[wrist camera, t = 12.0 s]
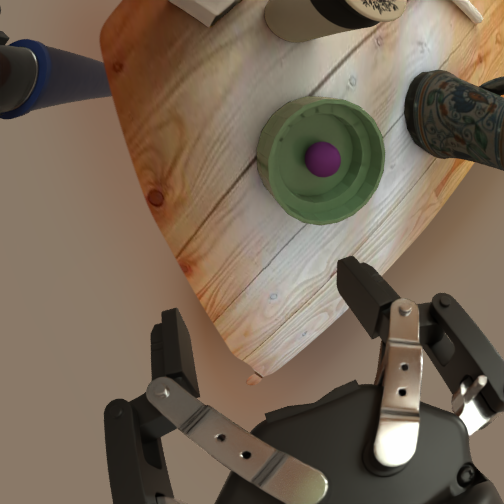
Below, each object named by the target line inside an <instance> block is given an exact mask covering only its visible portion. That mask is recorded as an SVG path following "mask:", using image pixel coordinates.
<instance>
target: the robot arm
mask: <svg viewBox="0 0 504 504" xmlns="http://www.w3.org/2000/svg"><path fill="white" fill-rule="evenodd" d="M0 13H1V7H0ZM8 40H9V37H8V36H7V35H6V34H5V33H4V32H2V31H0V113H1V112H5V111H11V110H14V109H17V108H18V107H20V106H21V105H22V104H24V103H25V102H26V101H27V99H28V98H29V97H30V95H31V94H32V92H33V90H34V88H35V86H36V83H37V80H38V75H39V63H38V59H37V57H36V55H35V53H34V52H33V51H32V50H30V49H28V48H25V47H13V46H6V45H5V44H6V43H7V41H8ZM0 115H3V114H0ZM337 288H338V291H339V293H340V295H341V296H342V298H343V299H344V300H345V302H346V303H347V305H348V306H349V307H350V308H351V310H352V311H353V313H354V314H355V316H356V317H357V319H358V320H359V321H360V323H361V324H362V326H363V327H364V329H365V330H366V331H367V333H368V334H369V336H370V337H371V338H372V339H374V338H376V337H378V336H380V338H381V339H382V341H381V346H380V354H379V361H378V368H377V373H376V378H375V381H374V385H373V384H361V385H358V383H357V381H356V380H354V381H352V382H349V383H347V384H345V385H342V386H340V387H338V388H335V389H334V390H332V391H331V392H329V393H328V394H327V395H325V396H324V397H322V398H321V399H320V400H318V401H317V402H315V403H311V404H304V405H294V406H287V407H284V408H281V409H278V410H275V411H272V412H268V413H265V416H266V420H264V421H262V422H261V423H259V424H258V425H257V426H256V427H255V428H254V429H253V430H252V431H251V432H250V433H249V432H248V431H246V430H244V429H243V428H241V427H240V426H238V425H237V424H235V423H234V422H232V421H231V420H230V419H228V418H226V417H225V416H224V415H222V414H221V413H219V412H218V411H217V410H215V409H214V408H212V407H211V406H209V405H204V404H203V403H202V402H200V401H199V400H198V399H196V398H198V397H200V394H199V388H198V382H197V377H196V371H195V364H194V358H193V352H192V346H191V339H190V335H189V332H188V329H187V327H186V325H185V323H184V321H183V319H182V316H181V314H180V312H179V310H178V308H173V309H170V310H166V311H163V312H162V323H160V324H156V325H154V328H153V330H152V332H151V370H152V382H151V383H150V384H149V385H148V387H147V390H146V392H145V393H144V394H143V395H141V396H139V397H138V398H136V399H134V400H132V401H130V402H127V401H126V400H124V399H115V400H113V401H111V402H110V403H109V404H108V405H107V406H106V408H105V411H104V427H105V443H106V454H107V464H108V472H109V479H110V487H111V492H112V499H113V504H187V503H185V502H184V501H181V500H177V499H174V495H173V491H172V488H171V483H170V480H169V475H168V471H167V466H166V462H165V457H164V452H163V447H162V443H161V436H163V435H165V434H167V433H169V432H171V431H173V430H175V429H177V428H178V429H179V430H180V431H181V432H182V433H184V434H185V435H186V436H187V437H188V438H189V439H191V440H192V441H193V442H194V443H196V444H197V445H198V446H199V447H201V448H202V449H203V450H204V451H206V452H207V453H208V454H209V455H211V456H212V457H213V458H215V459H216V460H217V461H219V462H220V463H221V464H223V465H224V466H225V467H227V468H228V469H230V470H231V472H230V474H229V476H228V478H227V480H226V482H225V484H224V486H223V488H222V490H221V492H220V494H219V496H218V498H217V500H216V502H215V504H504V503H503V502H502V499H501V498H500V496H499V493H498V492H497V490H496V488H495V486H494V485H493V483H492V482H491V481H490V480H489V479H488V478H487V477H485V476H484V475H483V474H482V473H481V472H480V471H479V470H478V469H477V468H476V467H475V466H474V464H473V462H472V459H471V455H470V448H469V436H470V435H472V434H473V433H474V432H476V431H477V430H480V429H483V428H485V427H486V426H488V425H489V424H490V423H491V422H492V421H494V420H495V419H496V418H497V417H499V416H500V415H501V414H502V413H503V412H504V361H503V359H502V358H501V356H500V355H499V354H498V352H497V351H496V349H495V348H494V347H493V345H492V344H491V343H490V341H489V340H488V339H487V337H486V336H485V335H484V334H483V332H482V331H481V330H480V329H479V327H478V326H477V325H476V324H475V323H474V321H473V320H472V319H471V318H470V316H469V315H468V314H467V313H466V312H465V310H464V309H463V308H462V307H461V306H460V305H459V303H458V302H457V301H456V300H455V299H454V298H453V297H452V296H451V295H449V294H446V293H438V294H436V295H435V296H434V297H433V299H432V302H430V303H423V304H416V303H415V302H413V301H412V300H410V299H406V298H400V296H399V295H398V294H397V293H396V292H395V291H394V290H393V289H392V287H391V286H390V285H389V284H388V283H387V282H386V281H385V280H383V278H382V276H381V275H379V273H378V272H377V271H376V270H375V269H374V268H373V267H372V266H370V265H368V264H366V263H364V262H363V263H359V262H358V260H357V259H356V258H355V257H354V256H349V257H346V258H343V259H340V260H338V262H337ZM445 333H446V334H445ZM448 337H449V338H448ZM450 340H451V341H452V342H451V341H450ZM453 344H454V345H453ZM423 349H424V350H425V352H426V353H427V355H428V356H429V358H430V359H431V361H432V362H433V364H434V366H435V367H436V369H437V370H438V372H439V373H440V375H441V376H442V378H443V379H444V381H445V383H446V384H447V386H448V387H449V389H450V391H451V392H452V394H453V396H452V401H451V402H452V411H453V412H454V413H451V412H448V411H445V410H442V409H440V408H437V407H434V406H431V405H429V404H426V403H423V402H420V394H421V382H422V362H423V360H422V359H423Z"/></svg>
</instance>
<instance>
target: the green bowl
mask: <svg viewBox="0 0 504 504" xmlns="http://www.w3.org/2000/svg"><path fill="white" fill-rule="evenodd" d="M316 142H328V143H330V144H332V145H334V146H335V147H336V148H337V150H338V151H339V153H340V156H341V164H340V167H339V169H338V171H337V172H336V173H335V174H333V175H332V176H329V177H317V176H315V175H313V174H312V173H311V172H310V171H309V170H308V169H307V167H306V164H305V153H306V151H307V149H308V148H309V147H310V146H311V145H312V144H314V143H316ZM384 162H385V148H384V143H383V137H382V134H381V132H380V130H379V128H378V127H377V125H376V123H375V121H374V119H373V118H372V117H371V116H370V115H369V114H368V113H366V112H365V111H364V110H363V109H362V108H361V107H359V106H357V105H355V104H353V103H350V102H348V101H346V100H342V99H336V98H329V97H315V96H306V97H303V98H300V99H297V100H294V101H291V102H288V103H287V104H286V105H284V106H283V107H282V108H280V109H279V110H278V111H277V112H275V113H274V114H273V115H272V116H271V118H270V119H269V121H268V122H267V124H266V125H265V127H264V129H263V130H262V132H261V136H260V139H259V143H258V147H257V169H258V172H259V174H260V177H261V179H262V182H263V185H264V186H265V188H266V189H267V190H268V191H269V192H270V194H271V195H272V196H273V197H274V198H275V200H276V201H277V202H278V203H279V204H280V205H281V207H282V208H283V209H284V210H285V211H286V212H287V214H289V215H290V216H292V217H294V218H296V219H298V220H299V221H301V222H303V223H309V224H315V225H326V224H332V223H338V222H340V221H342V220H344V219H346V218H348V217H350V216H352V215H354V214H355V213H356V212H357V211H359V210H360V209H361V208H362V207H363V206H364V205H366V204H367V202H368V201H369V200H370V198H371V197H372V195H373V194H374V192H375V191H376V189H377V188H378V185H379V182H380V180H381V177H382V174H383V171H384Z"/></svg>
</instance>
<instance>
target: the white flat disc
mask: <svg viewBox="0 0 504 504" xmlns="http://www.w3.org/2000/svg"><path fill="white" fill-rule="evenodd" d="M452 1H453V2H454V3H455V4H456V5H457V6H458V7H459V8H460V9H461V10H462V11H463V12H464V13H465V14H466V15H467V16H468V17H469V18H470V19H471V21H473V22H474V23H480V22H481V21H482V19H483V17H482V15H481V14H480V13H479V11H478V10H477V9H476V8H475V7H474V6H473V5H472V4H471V2H470V1H469V0H452Z"/></svg>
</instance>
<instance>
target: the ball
mask: <svg viewBox="0 0 504 504" xmlns="http://www.w3.org/2000/svg"><path fill="white" fill-rule="evenodd" d="M305 164H306V167H307V169H308V170H309V171H310V172H311V173H312V174H313V175H315V176H317V177H329V176H332V175H333V174H335V173H336V172H337V171H338V169H339V167H340V164H341V156H340V153H339V151H338V150H337V148H336V147H335V146H334V145H332V144H330V143H328V142H316V143H314V144H312V145H311V146H310V147H309V148H308V149H307V151H306V153H305Z"/></svg>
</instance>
